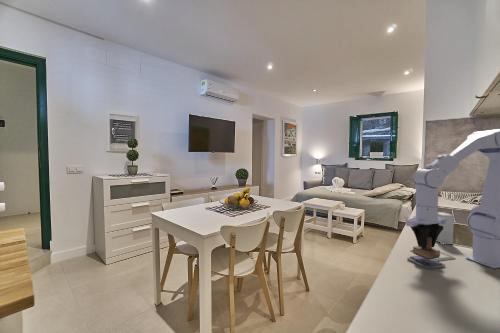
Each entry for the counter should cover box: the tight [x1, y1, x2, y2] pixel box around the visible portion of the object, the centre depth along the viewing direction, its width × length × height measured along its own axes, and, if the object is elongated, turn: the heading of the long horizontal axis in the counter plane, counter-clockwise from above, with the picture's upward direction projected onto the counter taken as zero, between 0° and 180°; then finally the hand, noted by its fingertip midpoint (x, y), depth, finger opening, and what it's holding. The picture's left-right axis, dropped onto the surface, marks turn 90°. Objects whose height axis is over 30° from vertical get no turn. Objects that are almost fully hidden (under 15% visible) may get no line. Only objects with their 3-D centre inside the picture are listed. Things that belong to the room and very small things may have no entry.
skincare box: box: [436, 211, 454, 245], centre depth 95 cm, size 6×4×12 cm
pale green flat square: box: [410, 249, 456, 262], centre depth 82 cm, size 9×9×1 cm
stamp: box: [412, 236, 441, 260], centre depth 75 cm, size 5×5×6 cm
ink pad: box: [406, 255, 446, 270], centre depth 75 cm, size 7×7×1 cm
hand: (426, 246), depth 75 cm, fingers closed on stamp, 3 cm apart
